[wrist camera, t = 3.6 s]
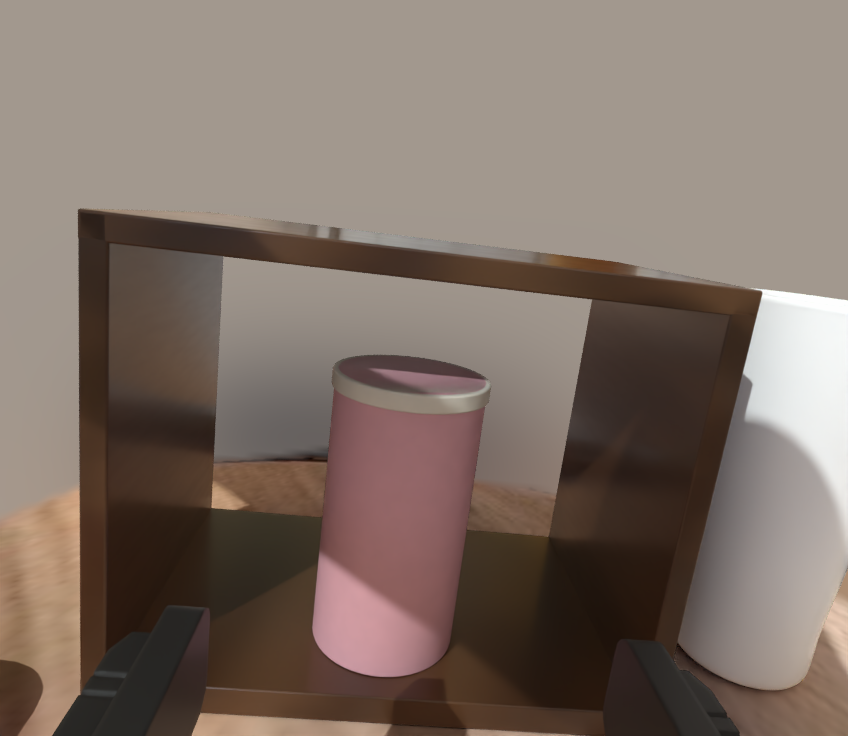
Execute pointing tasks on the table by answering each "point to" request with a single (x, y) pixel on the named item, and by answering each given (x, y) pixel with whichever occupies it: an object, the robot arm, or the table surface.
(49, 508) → the table surface
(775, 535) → the drinking glass
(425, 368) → the pink canister
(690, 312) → the cubby cabinet
